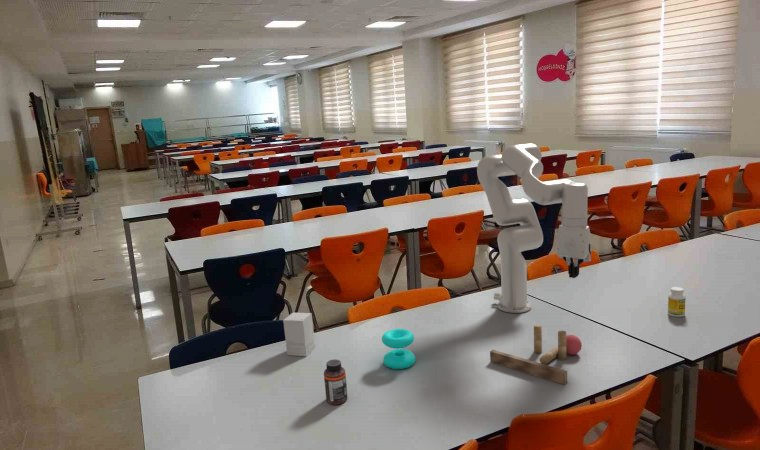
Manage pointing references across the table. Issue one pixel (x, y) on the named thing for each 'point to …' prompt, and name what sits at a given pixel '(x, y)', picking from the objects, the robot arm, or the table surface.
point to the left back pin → (537, 338)
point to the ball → (573, 344)
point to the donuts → (398, 356)
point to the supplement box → (299, 334)
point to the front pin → (549, 356)
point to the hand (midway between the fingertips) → (573, 276)
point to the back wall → (529, 367)
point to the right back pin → (562, 345)
